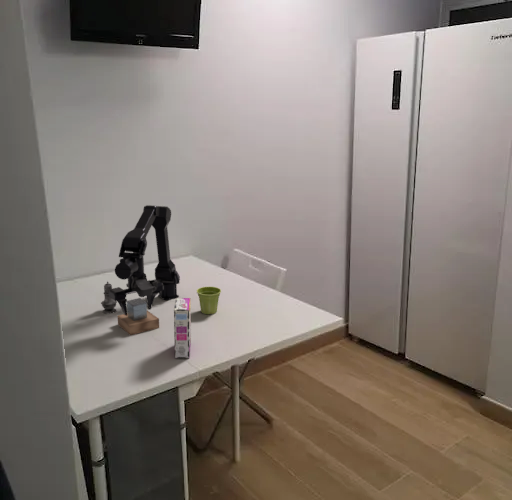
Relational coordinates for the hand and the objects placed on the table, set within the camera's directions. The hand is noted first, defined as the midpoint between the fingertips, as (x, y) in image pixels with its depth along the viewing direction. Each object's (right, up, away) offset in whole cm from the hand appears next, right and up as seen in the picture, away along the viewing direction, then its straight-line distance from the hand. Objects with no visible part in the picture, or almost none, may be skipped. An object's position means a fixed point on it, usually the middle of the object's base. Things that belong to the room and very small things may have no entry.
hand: (137, 312), depth 186 cm
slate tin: (0, -2, 0) cm, 2 cm away
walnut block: (0, -6, +1) cm, 6 cm away
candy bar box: (+19, -11, -17) cm, 28 cm away
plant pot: (+24, -2, +16) cm, 29 cm away
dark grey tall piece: (-14, -1, +15) cm, 21 cm away
